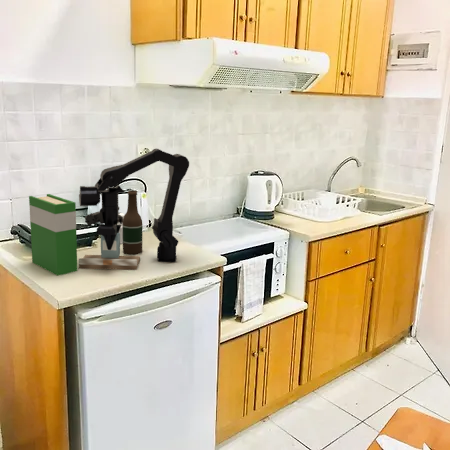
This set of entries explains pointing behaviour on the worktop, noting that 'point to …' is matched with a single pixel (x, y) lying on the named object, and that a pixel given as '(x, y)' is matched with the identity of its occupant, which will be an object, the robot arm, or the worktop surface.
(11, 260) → the worktop surface
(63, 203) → the hardback book
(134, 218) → the beer bottle
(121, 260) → the shelf board
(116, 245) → the product carton
